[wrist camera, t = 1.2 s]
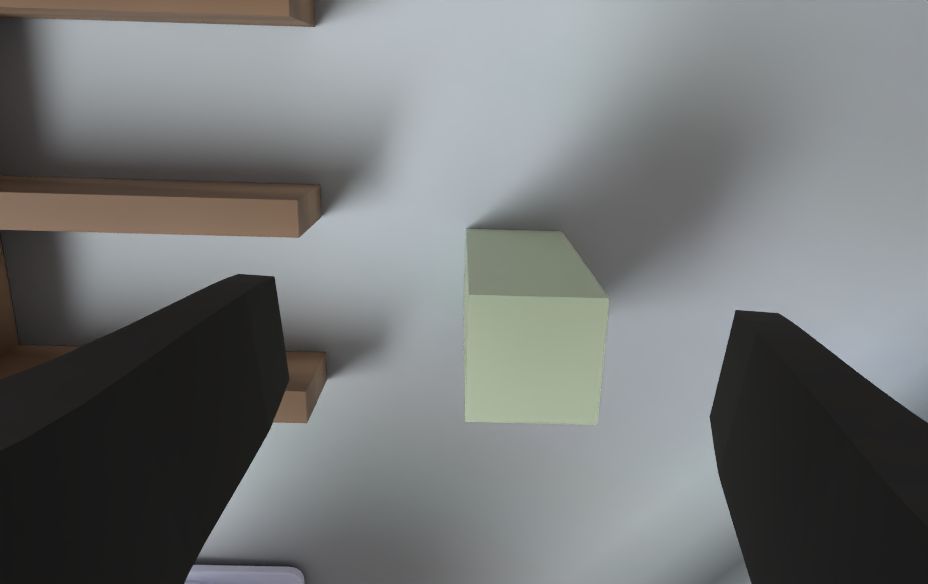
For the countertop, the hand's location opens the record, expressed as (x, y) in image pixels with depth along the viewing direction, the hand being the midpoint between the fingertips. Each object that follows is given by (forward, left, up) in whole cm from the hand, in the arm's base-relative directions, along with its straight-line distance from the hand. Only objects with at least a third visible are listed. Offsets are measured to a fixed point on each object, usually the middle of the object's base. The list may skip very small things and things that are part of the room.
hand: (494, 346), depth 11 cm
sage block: (-2, -1, -11) cm, 11 cm away
